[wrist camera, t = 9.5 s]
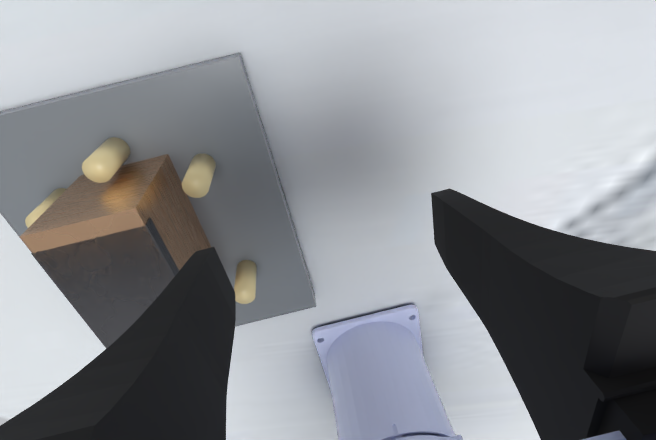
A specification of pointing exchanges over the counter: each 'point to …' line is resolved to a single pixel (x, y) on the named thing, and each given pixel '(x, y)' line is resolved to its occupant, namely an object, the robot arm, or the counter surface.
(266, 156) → the grey peg board
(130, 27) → the counter surface
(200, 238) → the tan wooden block
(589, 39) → the counter surface
